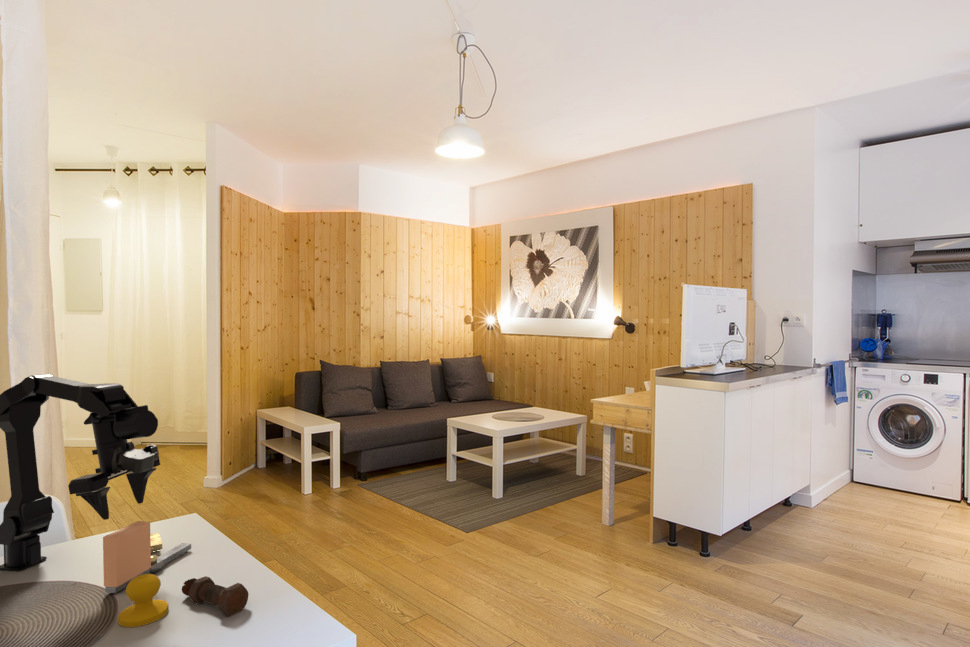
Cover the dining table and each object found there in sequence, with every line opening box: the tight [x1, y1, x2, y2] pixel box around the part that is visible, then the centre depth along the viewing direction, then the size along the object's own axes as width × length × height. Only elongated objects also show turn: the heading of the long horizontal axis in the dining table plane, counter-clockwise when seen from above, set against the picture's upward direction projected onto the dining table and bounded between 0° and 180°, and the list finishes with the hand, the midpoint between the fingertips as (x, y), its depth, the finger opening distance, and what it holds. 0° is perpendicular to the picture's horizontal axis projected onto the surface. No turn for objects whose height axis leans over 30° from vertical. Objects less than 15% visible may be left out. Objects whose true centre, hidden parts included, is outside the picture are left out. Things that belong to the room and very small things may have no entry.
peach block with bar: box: [102, 520, 192, 594], centre depth 122 cm, size 4×22×11 cm, turn 170°
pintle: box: [151, 554, 158, 564], centre depth 122 cm, size 2×2×1 cm
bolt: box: [181, 576, 250, 618], centre depth 107 cm, size 6×5×15 cm
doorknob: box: [117, 573, 170, 628], centre depth 103 cm, size 8×8×8 cm
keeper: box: [150, 532, 163, 553], centre depth 131 cm, size 9×5×4 cm, turn 35°
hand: (123, 511), depth 121 cm, fingers open, 9 cm apart
